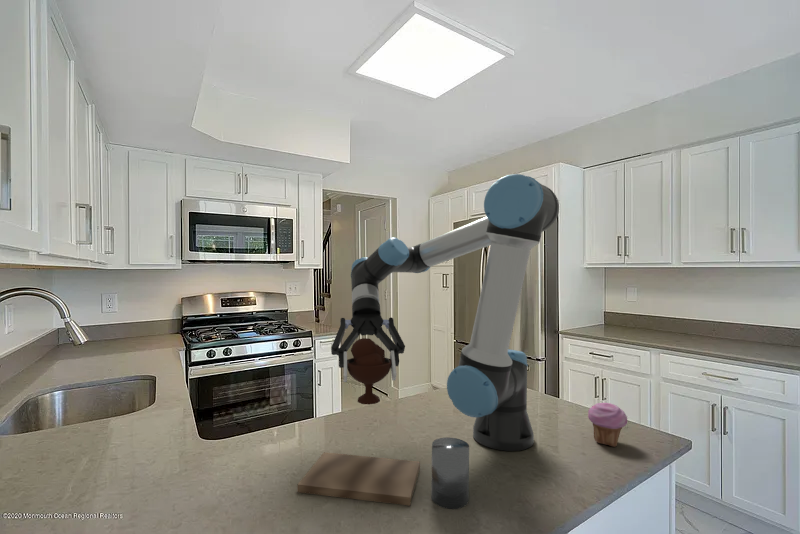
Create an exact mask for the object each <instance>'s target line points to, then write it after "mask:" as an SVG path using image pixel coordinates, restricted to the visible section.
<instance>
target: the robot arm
mask: <svg viewBox="0 0 800 534" xmlns="http://www.w3.org/2000/svg"><path fill="white" fill-rule="evenodd" d="M483 210H484V214H485V215H486V216H484V217H481V218H479V219H476V220H475V221H472V222H470V223H467V224H464V225H462V226H459V227H457V228H455V229H453V230H450V231H448V232H445V233H443V234H440V235H438V236H435V237H433V238H431V239H428V240H426V241H423V242H422V243H419V244H416V245H413V246H408V245H406V244H405V242H404V241H403V240H401V239H399V238H398V237H393V236H392V237H390V238H388V239H387V240H386V241H384V242H382V243H381V244H380V245H379V246H378V248H377V249H375V250H374V252H372V253H371V254H370V255H369V256H368V257H366V256H365V257H363V256H362V257H360V258H357V259H355V260H354V261H353V263H352V264H351V272H350V281H351V283H350V284H351V312H352V315H351V316H352V317H351V319H346V318H345V317H341V318H340V325H339V328H338V330H337V333H336V335H335V338H334V340H333V342H332V343H331V344H332V345H331V348H330V349H331V350H330V351H331V354H330V355H332V356H338V367H339V368H340V369H341V368H342V369H343V383H347V382H348V369H347V360H348V350H349V349H350V348H351V347H352V346H353V344H354V343H355V342H356V339H359V337H360V335H361V336H375V337H376V338H377V339H379V341H380V342H381V343H382V344H383V345H384V347H386V349H387V350H388V351H389V352H390V353H389V359H391V362H392V364H391V369H390V371H391V372H390V373H391V381H396V379H397V375H398V374H397V367H399V365H400V354H402V355H403V354H404V352H405V350H406V349H405V347H406V345H405V343H404V341H403V339H402V337H401V335H400V333H399V332H398V330H397V327H396V326H395V321H394V318H393V317H388V319H383V317H382V315H381V314H382V313H381V304H380V303H381V301H380V291H379V285H380V283H381V282H382V281H384V280H385V279H386V278H388V276H390V275H391V274H392V273H409V274H410V273H414V274H419V273H420V274H421V273H426V272H427V271H429V269H431V267H433V266H437V265H439V264H442V263H444V262H448V261H450V260H453V259H455V258H459V257H462V256H464V255H467V254H470V253H473V252H475V251H478V250H481V249H483V248H487V247H489V252H488V255H487V256H488V257H487V261H486V266H485V271H484V275H483V281H482V285H481V290H480V294H479V299H478V303H477V308H476V313H475V317H474V322H473V327H472V332H471V335H470V336H471V337H470V341H469V343H468V344H467V345H465V346H464V347H462V349H461V352H460V356H459V362H458V365H457V366H456V367H455V368H454V369H452V371H451V372H450V373H449V375H448V377H447V379H446V391H447V395H448V398H449V400H450V401H451V402H452V404H453V406H454V407H455V408H456V409H457V411H459V412H461V413H462V414H463V415H465V416H467V417H469V418H470V417H471V418H475V420H474V424H473V426H472V427H473V428H472V436H473V439H474V440H475V441H476V442H477V443H479V444H481V445H482V446H485V447H487V448H490V449H493V450H498V451H508V452H517V451H524V450H527V449H529V448H532V447H533V445H534V441H535V440H534V439H535V436H534V430H533V427H532V424H531V420H530V418H529V414H528V411H527V410H528V408H527V406H528V405H527V402H528V401H527V400H528V394H527V393H528V367H529V364H528V357H527V354H526V353H525V352H524V351H521V350H515V349H509V348H510V343H511V340H512V334H513V330H514V326H515V325H514V324H515V321H516V317H517V313H518V312H517V311H518V307H519V303H520V299H521V298H520V297H521V295H522V289H523V286H524V279H525V275H526V271H527V268H528V267H527V266H528V261H529V257H530V253H531V250H532V249H533V248H534V247H536V246H538V245H539V244H540V242H541V238H542V233H543V232H545V231H547V230H548V229H549V228H551V227H552V225H554V223H555V222H556V221H557V219H558V216H559V212H560V204H559V199H558V198H557V194H555V192H554V191H553V190H552V189H551V188H549V187H548V186H546V185H544V184H542V183H540V182H539V181H538V180H536V179H535V178H533V177H531V176H529V175H524V174H522V173H521V174H519V173H512V174H507V175H505V176H502V177H500V178H499V179H497V180H496V181H494V182H493V184H491V186H490V187H489V188H488V189H487V192H486V194H485V195H484V201H483ZM350 326H351V327H352V328H353V329H352V331H351V332H350V334H349V335H348V336H347V337H346V339H345V340H344V341H343V343H342V344H341V342H342V340H343V338H344V335H345V334H346V330H348V328H349V327H350ZM382 326H385V328H386V329H388V330H387V331H388V333H389V335H390V337H391V338H392V339H391V338H390V337H389V335H387V333H386V332H385V331H384V329H383V327H382ZM340 345H341V346H340Z"/></svg>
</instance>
